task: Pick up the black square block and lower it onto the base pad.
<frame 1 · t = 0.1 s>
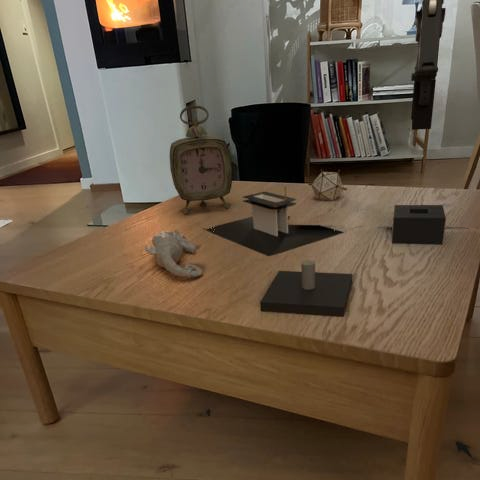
hand: (420, 124, 76), 22 cm above the table, tool pointing down, fingers open, 13 cm apart
architectural model: (270, 231, 104), on the table
black square block: (416, 236, 93), on the table
seahorse: (177, 264, 90), on the table
game die: (327, 203, 121), on the table
base pad: (308, 296, 73), on the table
tabletop clock: (205, 210, 125), on the table
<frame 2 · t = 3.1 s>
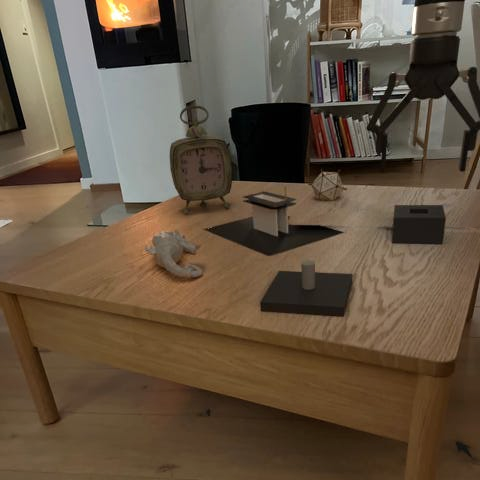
hand: (421, 170, 87), 13 cm above the table, tool pointing down, fingers open, 13 cm apart
nothing on the table moved.
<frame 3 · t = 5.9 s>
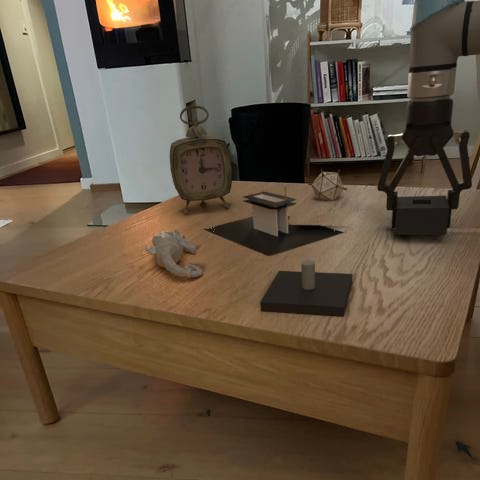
hand: (419, 226, 92), 2 cm above the table, tool pointing down, fingers closed on black square block, 9 cm apart
black square block: (419, 227, 92), point 2 cm above the table, touching gripper
everything else where it was.
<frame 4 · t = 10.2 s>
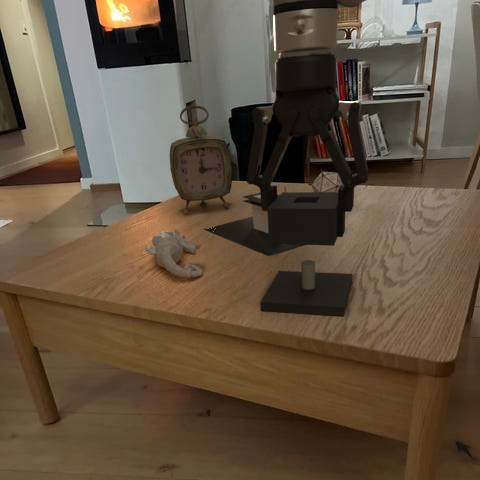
hand: (306, 233, 68), 10 cm above the table, tool pointing down, fingers closed on black square block, 9 cm apart
black square block: (306, 234, 68), point 10 cm above the table, touching gripper
everything else where it was.
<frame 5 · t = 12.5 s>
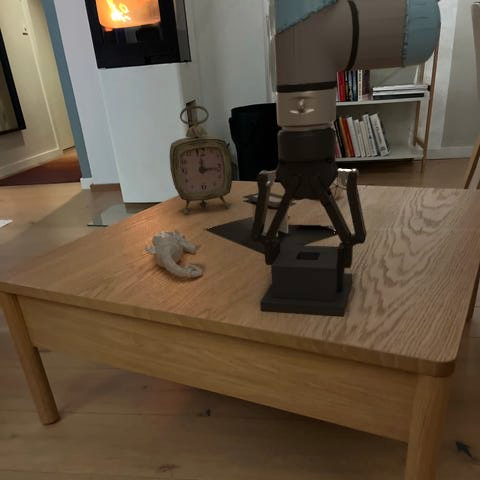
hand: (308, 285, 72), 2 cm above the table, tool pointing down, fingers closed on black square block, 9 cm apart
black square block: (308, 286, 72), point 2 cm above the table, touching gripper
everything else where it was.
when the fingers open (2 cm above the table, at t = 14.3 s): black square block stays where it is, resting on base pad.
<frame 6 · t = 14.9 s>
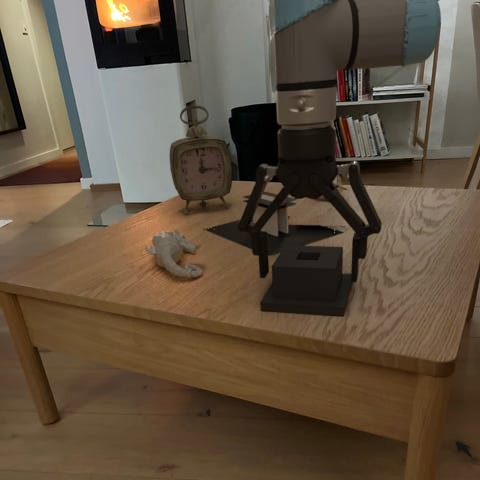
hand: (308, 277, 71), 3 cm above the table, tool pointing down, fingers open, 13 cm apart
black square block: (308, 287, 72), point 1 cm above the table, touching base pad
everything else where it was.
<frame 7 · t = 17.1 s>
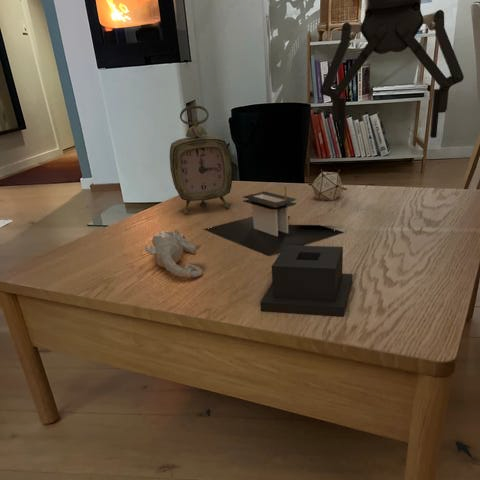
hand: (386, 139, 75), 20 cm above the table, tool pointing down, fingers open, 13 cm apart
nothing on the table moved.
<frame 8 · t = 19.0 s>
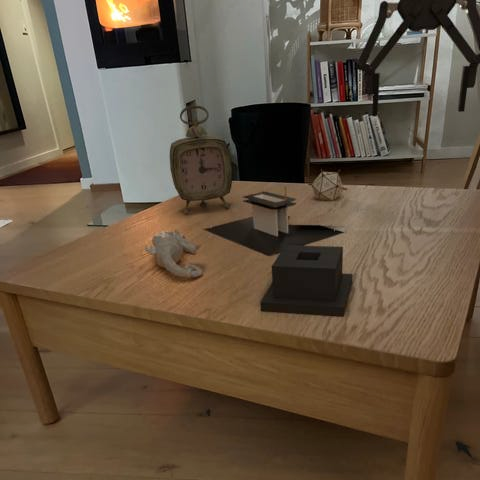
hand: (416, 113, 80), 23 cm above the table, tool pointing down, fingers open, 13 cm apart
nothing on the table moved.
at the end: black square block 0.1 cm off-centre on the base pad, point 1.5 cm above the base pad's base; black square block tilted 0°; black square block touching base pad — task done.
